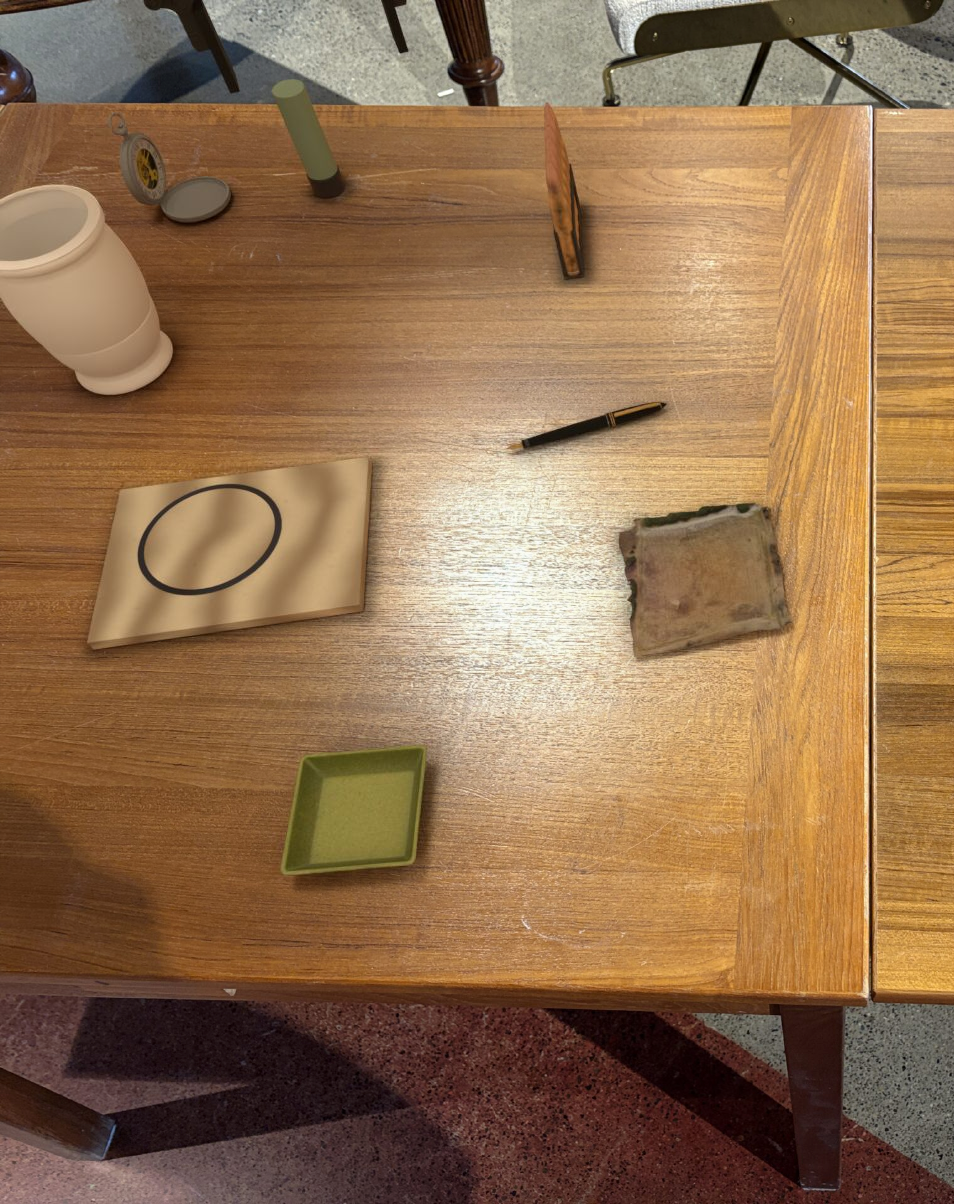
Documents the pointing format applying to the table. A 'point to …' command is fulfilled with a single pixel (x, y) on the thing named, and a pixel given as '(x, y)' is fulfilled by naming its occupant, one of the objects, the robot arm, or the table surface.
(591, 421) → the fountain pen
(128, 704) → the table surface
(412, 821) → the olive green square tray
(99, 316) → the jar
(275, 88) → the marker
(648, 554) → the parchment
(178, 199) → the pocket watch
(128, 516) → the sketch board
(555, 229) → the brown thin upright slab
